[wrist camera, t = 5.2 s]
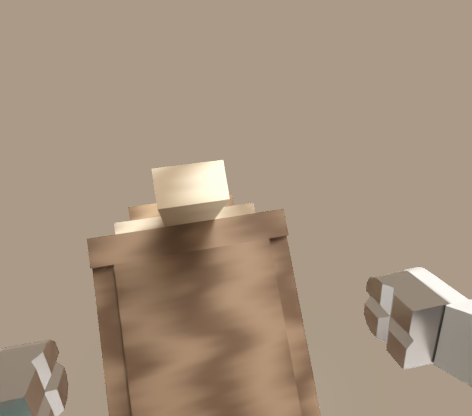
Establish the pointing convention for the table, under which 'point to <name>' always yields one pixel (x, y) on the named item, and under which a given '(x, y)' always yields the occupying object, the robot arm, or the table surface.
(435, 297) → the robot arm
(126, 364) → the walnut shelf
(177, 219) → the plywood board
